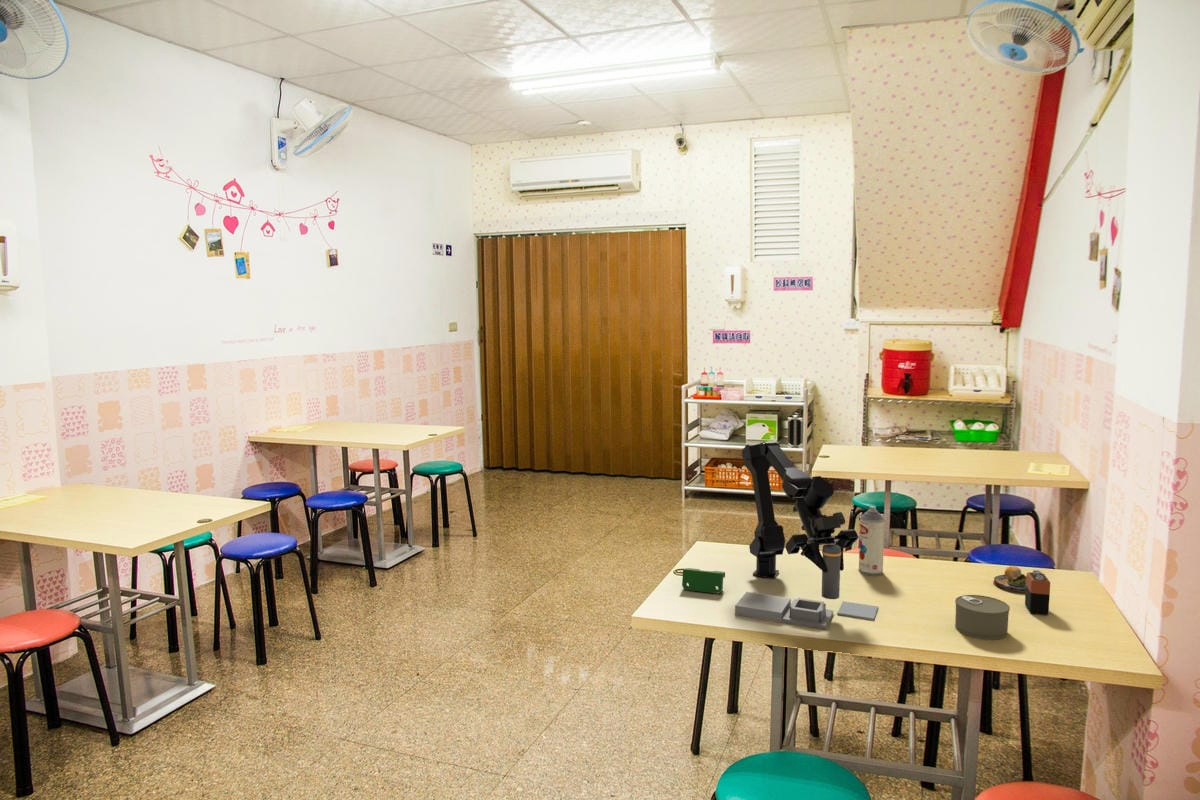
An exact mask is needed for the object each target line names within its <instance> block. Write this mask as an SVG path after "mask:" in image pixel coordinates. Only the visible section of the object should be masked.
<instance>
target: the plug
mask: <svg viewBox="0 0 1200 800" xmlns="http://www.w3.org/2000/svg"><path fill="white" fill-rule="evenodd" d="M821 555H822V558H823V560H824V562H825V565H826V568H827V572H826V573H824V572H823V571H822V570H821V597H822V598H824V599H826V600H837V599H840V588H841V586H840V584H841V571H840V557H841V547H840V546H837V545H832V544H824V545H822V551H821Z"/></svg>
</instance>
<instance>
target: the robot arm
mask: <svg viewBox="0 0 1200 800" xmlns="http://www.w3.org/2000/svg"><path fill="white" fill-rule="evenodd" d="M741 456H742V457H741V458H742V459H743V463H744V466H745V468H746V470H748V472H749V473H750V475H751V477H752V487H753V493H754V494H753V495H754V500H755V507H756V514H757V521H758V523H757V525H756V528H755V529H754V539H753V540H752V542H750V544H749V547H748V548H749V553H750V554H751V555H753V556H754V557H756V563H755V564H756V566H755V567H756V569H755V571H754V572H753V573H752V576H756V577H763V578H771V579H775V578H776V577H777V575H778V574H779V572H780V570H779V569H776V567H777V556H778V555H779V556H780V555H782V556H783V555H784V550H786V553H787V554H788V555H794V554H795V555H796V554H799V552H800V550H801V552H800V555H801V556H803V557H805V558H807V559H808V560H810V561H809V562H812V563H813V564H814V565H815V566H816V567H817V568H819V570H821V572H822V571H823V572H824V573H826V572H827V568H826V565H825V562H824V560H823V558H822V557H823V554H822V552H821V550H820V546H823V545H827V544H832V545H837V546H840V547H841V557H840V572H842V571H844V569H845V567H844V565H845V564H844V563H845V562H844V549H849V548H850V547H852V546H853V545H854V544H855V542H856V541H857V540H858V539H860V535H859V534H858V532H857V531H856V530H855V529H853V528H851V529H841V526H843V525H845V524H846V518H845V516H844V514H843V512H842V511H837V512H835V513H834V512H833V514H832V515H827V514H823V513H822V511H821V509H822V508H824V506H826V504H827V503H828V502H829V500H830V499H831V498H832V496H833V495H834V493H835V489H834V486H833V485H832V484H831V483H830V482H829V481H828V480H825V479H823V478H822V476H821V475H816V476H813V477H812V478H811V476H810V475H809V474H807V472H805V471H802V470H800V469H798V468H797V467H796V466H795V464H793V462H792V461H791V460H790V459H789V457H788V456H787V455H786V453H785V452H784V451H783V449H782V448H781V444H780V443H779V441H775V440H773V441H771V440H770V441H763V442H760V443H752V444H748V443H747V444H745V446H744V448H742V450H741ZM771 467H772V468H773V469H774V471H775V472H776V473H777V474H778V475H779V477H780V479H781V480H782V482H781V483H782V484H781V488H782V489H783V492H784V493H785V496H787V497H788V499H797V498H799V499H798V500H797V501H794V505H793V507H792V512H794V513H795V512H796V513H798V516H799V518H800V520H801V523H802V525H801V527H800V528H801V530H802V531H805V533H800V534H798V533H797V534H792V535H791V537H790V538H789V539H788V541H787V542H786V538H785V534H784V526H782V525H781V524H779V523H778V522H777V520H776V518H775V511H774V510H775V509H774V504H773V497H772V492H771V491H772V489H771V484H770V478H769V470H770V468H771ZM835 529H841V530H840V531H839V532H838V533H837V534H836V535H832V534H834V533H835V532H836V530H835Z"/></svg>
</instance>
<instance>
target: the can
mask: <svg viewBox="0 0 1200 800" xmlns="http://www.w3.org/2000/svg"><path fill="white" fill-rule="evenodd" d="M954 602H955V616H954V617H955V622H954V626H955V627H954V628H955V630H956V631H958V632H959V633H960V634H961V635H964V636H967V637H970V638H973V639H978V640H983V641H985V640H986V641H998V640H1002V639H1005V638H1007V636H1008V629H1009V615H1010V613H1009V612H1010V610H1011V609H1010V608H1011V607H1010V605H1009V604H1008V603H1007V602H1004V601H1003V600H1001V599H998V598H995V597H991V596H986V595H978V594H965V595H961V596H958V597H956V598H955V600H954Z"/></svg>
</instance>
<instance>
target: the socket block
mask: <svg viewBox="0 0 1200 800" xmlns="http://www.w3.org/2000/svg"><path fill="white" fill-rule="evenodd" d="M826 605H827V604H826V602H825V601H821V600H815V599H808V598H801V597H797V598H794V599H793V601H792V598H790V597H784V596H776V595H772V594H771V595H770V594H764V593H758V592H757V593H756V592H751V591H750V592H749V591H746V592H745V593H744V594H743V595H742V597H741V598H740V599H739V600H738V601H737V603H736V604H735V605H734V616H740V615H741V617H746V618H752V619H753V618H754V619H759V620H766V621H771V622H776V623H783V624H789V625H796V626H802V627H807V628H812V629H814V628H815V629H818V630H819V629H820V630H827V628H828V627H829V626H828V625H829V623H830V622H831V620H832V618H833V615H834V610H832V609H827V606H826Z"/></svg>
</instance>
